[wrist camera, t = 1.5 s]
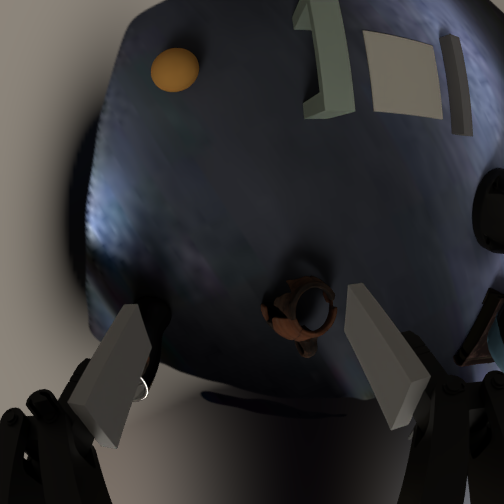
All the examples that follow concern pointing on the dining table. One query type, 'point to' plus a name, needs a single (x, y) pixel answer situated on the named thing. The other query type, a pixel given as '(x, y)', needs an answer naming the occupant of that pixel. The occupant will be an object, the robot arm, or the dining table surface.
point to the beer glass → (152, 339)
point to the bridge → (327, 58)
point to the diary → (480, 332)
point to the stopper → (457, 85)
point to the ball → (175, 69)
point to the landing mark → (403, 76)
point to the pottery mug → (290, 325)
